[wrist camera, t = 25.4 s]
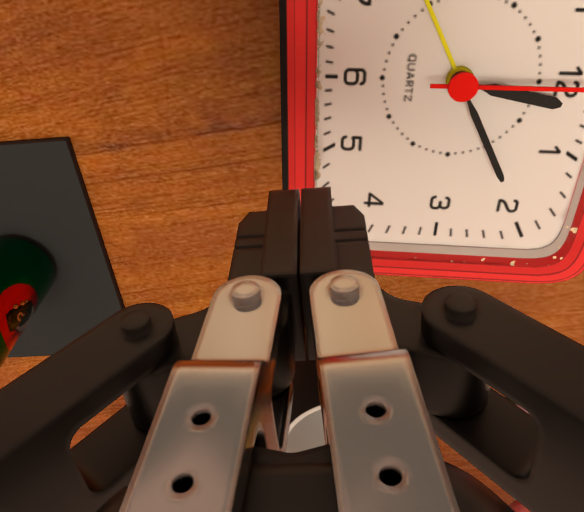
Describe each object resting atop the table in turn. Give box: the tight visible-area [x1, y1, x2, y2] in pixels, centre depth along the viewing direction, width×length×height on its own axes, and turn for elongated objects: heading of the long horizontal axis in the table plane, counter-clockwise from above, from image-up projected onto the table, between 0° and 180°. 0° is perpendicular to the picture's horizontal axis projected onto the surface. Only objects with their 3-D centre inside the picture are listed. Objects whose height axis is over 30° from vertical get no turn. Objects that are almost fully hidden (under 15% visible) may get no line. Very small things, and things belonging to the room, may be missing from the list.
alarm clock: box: [279, 0, 584, 283], centre depth 28 cm, size 10×20×16 cm
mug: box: [286, 338, 325, 453], centre depth 40 cm, size 12×9×10 cm
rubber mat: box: [0, 137, 124, 357], centre depth 41 cm, size 18×12×1 cm, turn 5°
